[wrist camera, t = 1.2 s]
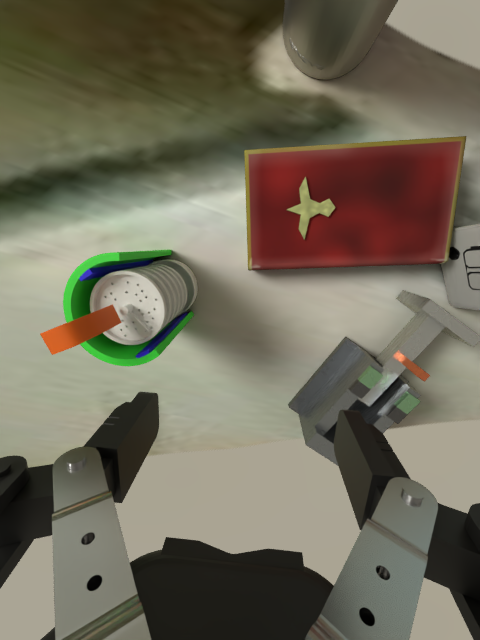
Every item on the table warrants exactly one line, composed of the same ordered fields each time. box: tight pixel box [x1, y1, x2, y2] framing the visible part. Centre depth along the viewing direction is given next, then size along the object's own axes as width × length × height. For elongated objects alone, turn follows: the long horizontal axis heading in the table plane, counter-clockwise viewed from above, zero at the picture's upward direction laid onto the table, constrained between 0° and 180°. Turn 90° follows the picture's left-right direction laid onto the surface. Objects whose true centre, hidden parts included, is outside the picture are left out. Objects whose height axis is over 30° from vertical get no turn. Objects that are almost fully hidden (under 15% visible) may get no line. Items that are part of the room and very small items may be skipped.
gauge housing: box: [288, 337, 421, 465], centre depth 35 cm, size 12×10×7 cm
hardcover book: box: [245, 136, 466, 270], centre depth 31 cm, size 12×21×4 cm, turn 92°
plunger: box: [358, 290, 480, 407], centre depth 32 cm, size 13×7×8 cm, turn 145°
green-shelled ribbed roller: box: [40, 250, 198, 366], centre depth 28 cm, size 9×8×18 cm
